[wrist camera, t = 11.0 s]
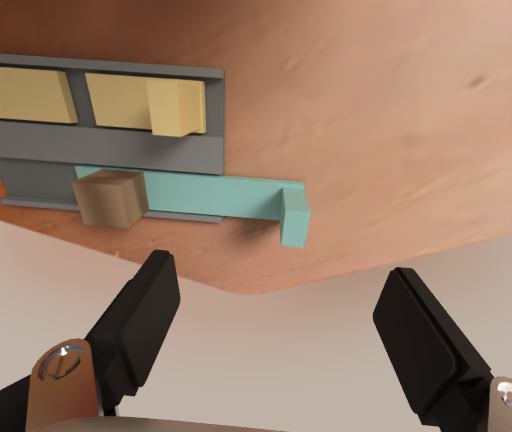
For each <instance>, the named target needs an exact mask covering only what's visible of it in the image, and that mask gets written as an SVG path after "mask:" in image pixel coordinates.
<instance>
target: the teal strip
mask: <svg viewBox="0 0 512 432" xmlns="http://www.w3.org/2000/svg"><path fill="white" fill-rule="evenodd" d="M101 169H110V170H123V171H136V172H143V173H144V179H145V185H146V192H147V198H148V204H149V210H161V211H173V212H185V213H197V214H209V215H221V216H233V217H245V218H257V219H269V220H279V223H280V238H281V245H283V246H294V247H305V241H306V236H307V231H308V225H309V220H310V215H311V211H310V208H309V205H308V202H307V200H306V197H305V194H304V189H305V184H304V182H300V181H287V180H275V179H262V178H249V177H237V176H224V175H212V174H199V173H186V172H174V171H161V170H149V169H136V168H123V167H111V166H98V165H86V164H81V165H78V166H75V170H76V173H77V176H78V179H80V178H82V177H84V176H87V175H89V174H92V173H94V172H97V171H99V170H101Z"/></svg>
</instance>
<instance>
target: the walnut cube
mask: <svg viewBox="0 0 512 432" xmlns="http://www.w3.org/2000/svg"><path fill="white" fill-rule="evenodd" d="M71 183H72V186H73V189H74V193H75V196H76V199H77V202H78V206H79V209H80V212H81V215H82V219H83V222H84V225H94V226H105V227H117V228H129V227H130V226H132V225H133V224H134V223H135V222H136V221H137V220H138V219H139V218H140V217H142V216H143V215H144V214H145V213H146V212H147V211H148V210H149V204H148V198H147V192H146V185H145V179H144V173H143V172H136V171H123V170H110V169H101V170H99V171H97V172H94V173H92V174H89V175H87V176H84V177H82V178H80V179H77V180H75V181H72V182H71Z"/></svg>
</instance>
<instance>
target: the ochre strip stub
mask: <svg viewBox="0 0 512 432" xmlns="http://www.w3.org/2000/svg"><path fill="white" fill-rule="evenodd" d="M85 76H86V80H87V84H88V89H89V93H90V98H91V102H92V106H93V111H94V115H95V119H96V124H97V125H100V126H113V127H127V128H140V129H152V133H153V135H163V136H176V137H182V136H184V135H186V134H189V133H191V132H193V133H205V132H206V113H205V82H203V81H193V80H179V79H164V78H150V77H136V76H121V75H107V74H92V73H85Z"/></svg>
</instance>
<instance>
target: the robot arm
mask: <svg viewBox="0 0 512 432" xmlns="http://www.w3.org/2000/svg"><path fill="white" fill-rule="evenodd" d="M179 304H180V293H179V286H178V281H177V274H176V268H175V262H174V256H173V254H170V252H169V251H166V250H154V251H153V252H152V253H151V255H150V256H149V257H148V259H147V260H146V261H145V263H144V264H143V265H142V267H141V268H140V269H139V271H138V272H137V273H136V275H135V276H134V278H133V279H131V280H129V281H128V282H127V283H126V285H125V286H124V287H123V288H122V290H121V291H120V292H119V294H118V295H117V296H116V298H115V299H114V300H113V302H112V303H111V304H110V305H109V307H108V308H107V310H106V311H105V312H104V313H103V315H102V316H101V317H100V319H99V320H98V321H97V323H96V324H95V325H94V327H93V328H92V329H91V330H90V332H89V333H88V334H87V336H86V337H85V338H84V339H70V340H67V341H64V342H62V343H60V344H58V345H56V346H54V347H52V348H51V349H50V350H48V351H47V352H46V353H45V354H44V355H43V356H42V357H41V358H40V359H39V360H38V361H37V363H36V364H35V366H34V367H33V369H32V373H31V375H28V376H27V377H25V378H23V379H21V380H19V381H17V382H15V383H13V384H11V385H9V386H7V387H6V388H4V389H2V390H0V432H285V431H274V430H266V429H265V430H264V429H255V428H246V427H235V426H225V425H214V424H204V423H195V422H183V421H173V420H162V419H149V418H135V417H119V412H118V406H117V405H119V404H120V402H121V399H122V398H123V396H124V395H126V396H135V395H136V392H137V390H138V388H139V387H142V386H143V385H144V384H145V382H146V380H147V378H148V375H149V373H150V371H151V369H152V366H153V364H154V362H155V360H156V357H157V355H158V353H159V350H160V348H161V346H162V344H163V341H164V339H165V337H166V334H167V332H168V330H169V327H170V325H171V323H172V321H173V318H174V316H175V314H176V311H177V309H178V307H179ZM373 321H374V324H375V326H376V328H377V331H378V333H379V335H380V337H381V340H382V342H383V344H384V347H385V349H386V352H387V354H388V356H389V358H390V361H391V363H392V365H393V368H394V370H395V372H396V375H397V377H398V379H399V382H400V384H401V386H402V389H403V391H404V393H405V396H406V398H407V400H408V403H409V405H410V407H411V409H412V410H413V412H414V413H415V414H418V417H419V419H420V421H421V423H422V425H428V426H439V428H440V430H441V432H512V379H511V378H507V377H496V378H494V376H493V375H492V374H491V372H490V370H491V368H490V367H489V366H488V365H487V363H486V362H485V361H484V359H483V358H482V357H481V356H480V354H479V353H478V352H477V350H476V349H475V348H474V347H473V345H472V344H471V343H470V341H469V340H468V339H467V338H466V336H465V335H464V334H463V332H462V331H461V330H460V328H459V327H458V326H457V325H456V323H455V322H454V321H453V319H452V318H451V317H450V316H449V314H448V313H447V312H446V310H445V309H444V308H443V307H442V305H441V304H440V303H439V301H438V300H437V299H436V298H435V296H434V295H433V294H432V293H431V291H430V290H429V289H428V287H427V286H426V285H425V283H424V282H423V281H422V280H421V278H420V277H419V276H418V274H417V273H416V272H415V271H414V270H413V269H412V268H401V267H396V268H395V269H394V270H392V271H390V274H389V276H388V278H387V280H386V283H385V285H384V288H383V290H382V292H381V295H380V297H379V300H378V302H377V305H376V307H375V310H374V312H373Z"/></svg>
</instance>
